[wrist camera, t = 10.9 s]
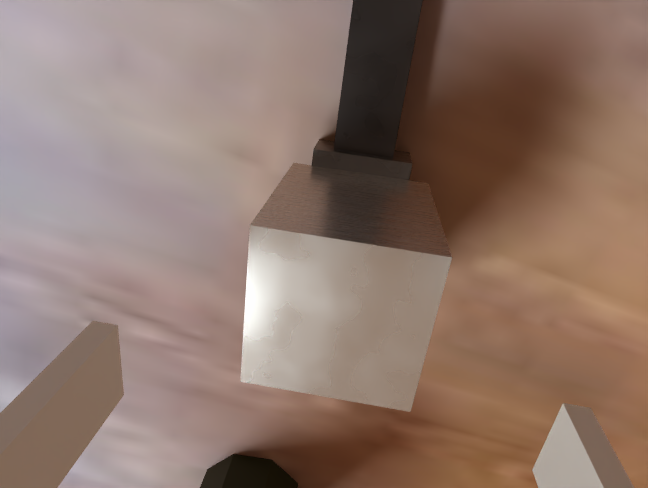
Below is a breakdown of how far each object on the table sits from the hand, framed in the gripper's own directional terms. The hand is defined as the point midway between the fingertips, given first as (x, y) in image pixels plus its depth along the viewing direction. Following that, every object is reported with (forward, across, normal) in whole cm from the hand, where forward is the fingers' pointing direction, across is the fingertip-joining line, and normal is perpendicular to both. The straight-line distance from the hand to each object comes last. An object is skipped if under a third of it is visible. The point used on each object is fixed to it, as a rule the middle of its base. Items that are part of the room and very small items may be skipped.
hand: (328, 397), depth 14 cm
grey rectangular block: (+13, 0, 0) cm, 13 cm away
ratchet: (+16, 0, +5) cm, 16 cm away
